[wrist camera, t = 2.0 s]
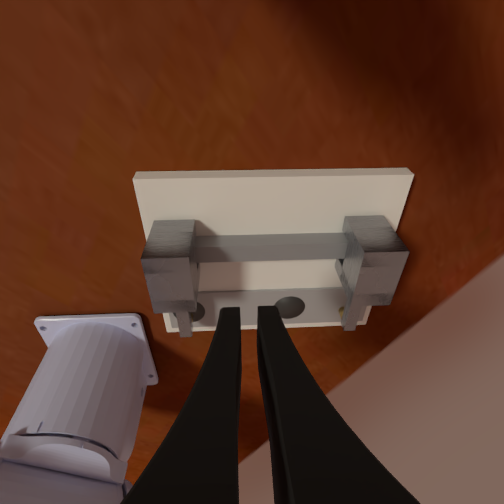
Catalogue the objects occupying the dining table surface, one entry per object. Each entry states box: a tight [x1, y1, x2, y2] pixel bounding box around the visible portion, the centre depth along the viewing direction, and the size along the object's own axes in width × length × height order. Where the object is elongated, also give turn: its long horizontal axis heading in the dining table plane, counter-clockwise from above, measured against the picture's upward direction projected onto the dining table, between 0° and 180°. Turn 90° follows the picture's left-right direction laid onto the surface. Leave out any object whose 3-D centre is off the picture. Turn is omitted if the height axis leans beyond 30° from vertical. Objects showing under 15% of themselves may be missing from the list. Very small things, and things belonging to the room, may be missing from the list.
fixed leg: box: [141, 219, 200, 337], centre depth 21 cm, size 8×2×4 cm, turn 0°
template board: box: [133, 168, 414, 332], centre depth 23 cm, size 13×16×2 cm
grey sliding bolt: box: [335, 215, 410, 331], centre depth 21 cm, size 8×2×4 cm, turn 0°
